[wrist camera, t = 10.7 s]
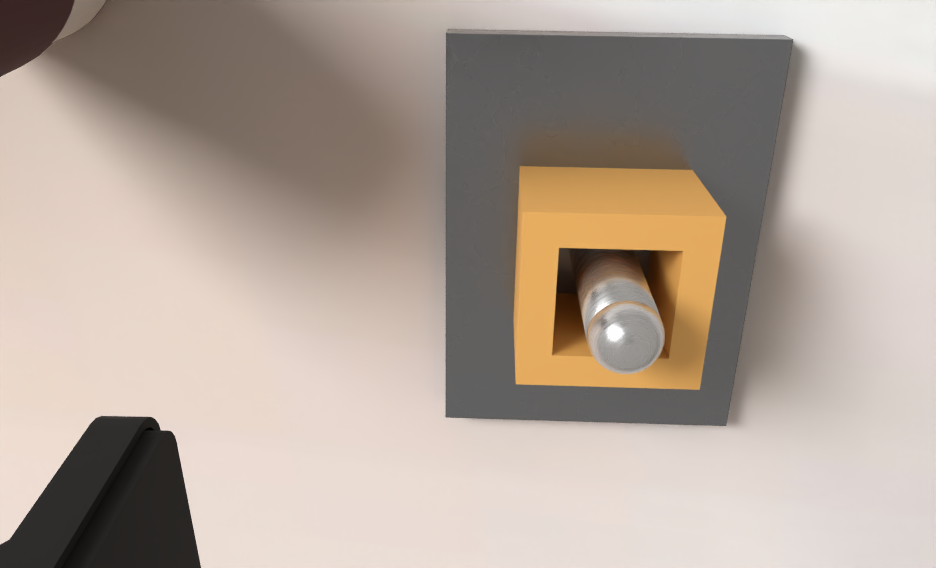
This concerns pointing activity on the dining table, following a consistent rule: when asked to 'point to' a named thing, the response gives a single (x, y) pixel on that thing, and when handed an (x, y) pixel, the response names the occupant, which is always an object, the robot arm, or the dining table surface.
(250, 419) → the dining table surface
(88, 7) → the coffee cup
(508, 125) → the keeper
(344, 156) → the dining table surface
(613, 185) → the orange hollow square block
